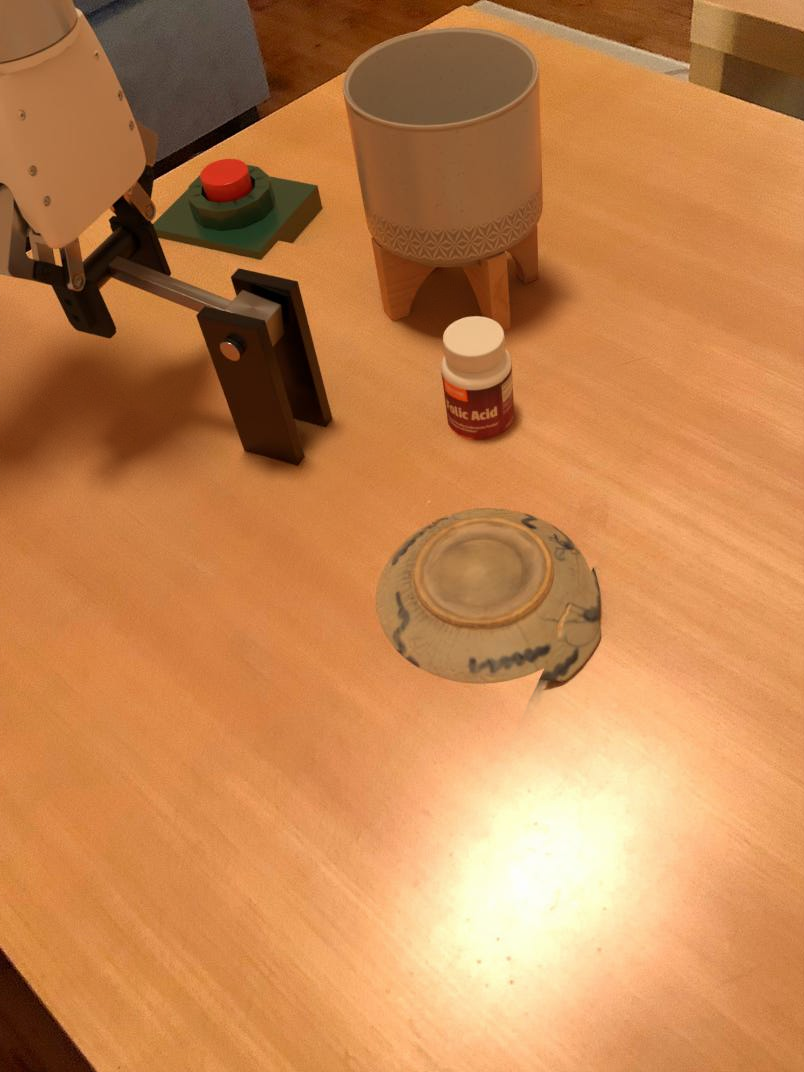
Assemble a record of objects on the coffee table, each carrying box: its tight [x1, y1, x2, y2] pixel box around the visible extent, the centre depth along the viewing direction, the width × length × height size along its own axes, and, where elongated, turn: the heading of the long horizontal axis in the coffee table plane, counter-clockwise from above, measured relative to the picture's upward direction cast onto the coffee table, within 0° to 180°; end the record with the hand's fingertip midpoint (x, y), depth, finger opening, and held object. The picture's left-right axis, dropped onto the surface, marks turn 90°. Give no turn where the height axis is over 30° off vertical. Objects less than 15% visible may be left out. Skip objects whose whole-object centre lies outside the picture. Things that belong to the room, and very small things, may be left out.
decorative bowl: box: [375, 507, 602, 685], centre depth 64 cm, size 15×4×15 cm
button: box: [199, 158, 253, 203], centre depth 87 cm, size 4×4×2 cm
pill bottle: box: [440, 315, 516, 441], centre depth 71 cm, size 5×5×8 cm
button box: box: [152, 164, 323, 261], centre depth 89 cm, size 11×10×4 cm
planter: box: [342, 26, 544, 332], centre depth 76 cm, size 13×13×18 cm
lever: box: [82, 226, 284, 346], centre depth 66 cm, size 13×6×2 cm, turn 66°
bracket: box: [195, 267, 333, 467], centre depth 69 cm, size 12×9×13 cm
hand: (123, 300), depth 69 cm, fingers closed on lever, 5 cm apart
